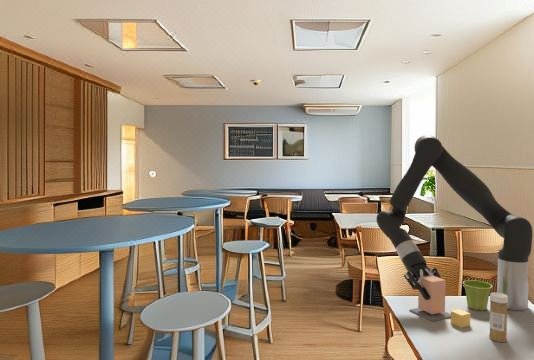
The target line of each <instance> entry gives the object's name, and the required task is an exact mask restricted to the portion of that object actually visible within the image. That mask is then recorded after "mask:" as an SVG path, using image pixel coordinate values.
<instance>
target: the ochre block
mask: <svg viewBox="0 0 534 360" xmlns="http://www.w3.org/2000/svg"><path fill="white" fill-rule="evenodd" d="M450 314H451V318H450V324H453V325H455V326H457V327H459V328H465V327H470V326H471V313H470V312H467V311H465V310H462V309H461V308H459V309H454V310H450Z"/></svg>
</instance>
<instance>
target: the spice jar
mask: <svg viewBox="0 0 534 360" xmlns="http://www.w3.org/2000/svg"><path fill="white" fill-rule="evenodd" d="M489 300H490V305H489V307H490V308H489V309H490V310H489V334H488V337H489V338H490V339H491V340H492V341H494V342H497V343H505V342H507V341H508V338H507V330H508V309H507V303H508V296H507V295H505V294H503V293H497V291H496V292H493V291H492V292H490V293H489Z"/></svg>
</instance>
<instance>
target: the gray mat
mask: <svg viewBox="0 0 534 360" xmlns="http://www.w3.org/2000/svg"><path fill="white" fill-rule="evenodd" d="M409 312H411V313H414V314H416V315H418V316H420V317H421V318H424V319H426V320H429V321H430V322H437V321H443V320H445V319H451V313H449V312H447V311H445V312H441V313H436V314H430V313H428V312H426V311H423V310H421V309H419V308H418V307H414V308H410V309H409Z"/></svg>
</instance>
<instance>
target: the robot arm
mask: <svg viewBox="0 0 534 360" xmlns="http://www.w3.org/2000/svg"><path fill="white" fill-rule="evenodd" d="M413 148H414V152H415V153H414V156H413V158H412V161H411V164H410V165H409V168H408V169H407V171H406V173H405V174H404V175H403V177H402V178H401V179H400V181H399V182H398V184H397V186H396V187H395V190H394V191H393V193H392V195H391V197H390V199H389V204H390V205H391V207H392V210H382V211H379V212H378V213H377V215H376V223H377V225H378V227H379V229H380V230H381V231H382V233H383V234H384V235H385V236H386V237H387V238H388V239H389V240H390V242H391V244H392V245H393V247H394V249H395V250H396V253H397V255H398V257H399V259H400V261H401V262H402V264H403V266H404V267H405V269H406V273H405V274H404V275H403V277H404V279H405V280H406V281H407V282H408V284H409V285H410V286H411V287H410V288H412V290H414V291H415V290H417V291H418V292H419V291H420V293H421V294H422V296H423V298H424V299H425V300H429V299H430V295H429V293H428V292H427V290H426V288H424V284H423V283H422V279H421V278H423V276H435V277H438V278H441V279H442V277H441V274H440V273H439V271H438V269H437V268H436V267H434V268H430V267H429V266H428V265H427V261H426V258H425V257H424V255H423V253H422V252H421V250H420V249H419V247H418V246H417V244H416V243H415V242H414V240H413V238H412V237H411V236H410V234H409V232H408V231H407V230H406V229H405V228H404V229H403V228H402V227H401V226H403V224H404V222H405V218H406V214H407V211H408V210H407V209H408V207H409V205H410V203H411V201H412V199H413V198H414V196H415V194H416V192H417V191H418V188H419V186H420V185H421V183H422V181H423V179H424V178H425V176H426V175H427V173H428V172H429V170H430V169H431V168H432V167H433V168H434V169H435V170H436V171H437V172H438V173H439V174H440V175H441V177H442V178H443V179H444V181H445V182H446V183H447V184H448V185H449V187H450V188H451V189H452V190H453V192H455V193H456V195H458V196H459V198H461V199H462V200H463V201H464V202H465V203H466V204H468V205H469V206H470V207H471V208H472V209H473V210H475V211H476V212H477V213H479V214H480V216H482V217H483V218H484V219H485V220H486V222H488V224H489V225H490V226H491V227H492V229H493V230H494V231H495V232H496V233H497V234H498V236H500V238H502V239H503V247H502V248H501V249H499V250H498V252H497V283H496V286H497V288H496V293H503V294H505V295H507V296H508V303H507V310H512V311H526V310H527V308H528V307H529V288H530V287H529V285H530V283H529V279H528V275H529V257H530V255H531V252H532V247H533V246H532V245H533V244H532V243H533V227H532V224H531V223H530V221H529V220H528V219H526V218H524V217H522V216H518V215H515V214H513V213H511V212H510V211H508V210H507V209H506V208H504V206H502V205H501V204H500V203H499V202H498V201H497V200H496V198H495V197H494V195H493V193H492V192H491V190H490V188H489V187H488V186H487V184H486V183H485V182H484V181H483V180H482V179H481V178H480V177H478V176H477V175H476V173H474V172H472V170H470V168H468V167H466V166H465V165H464V164H462V163H461V162H459V161H458V160H457V159H456V158H454V157H453V156H452V154H450V153H449V151H448V150H447V149H446V148H445V147H444V146H443V144H442V142H441V141H440V140H439V139H438V138H437V137H436V136H434V135H431V134H430V135H429V134H428V135H427V134H425V135H421V136H420V137H418V138H417V139H416V141H415V143H414V147H413ZM419 277H420V279H419ZM419 283H420V285H419Z"/></svg>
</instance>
